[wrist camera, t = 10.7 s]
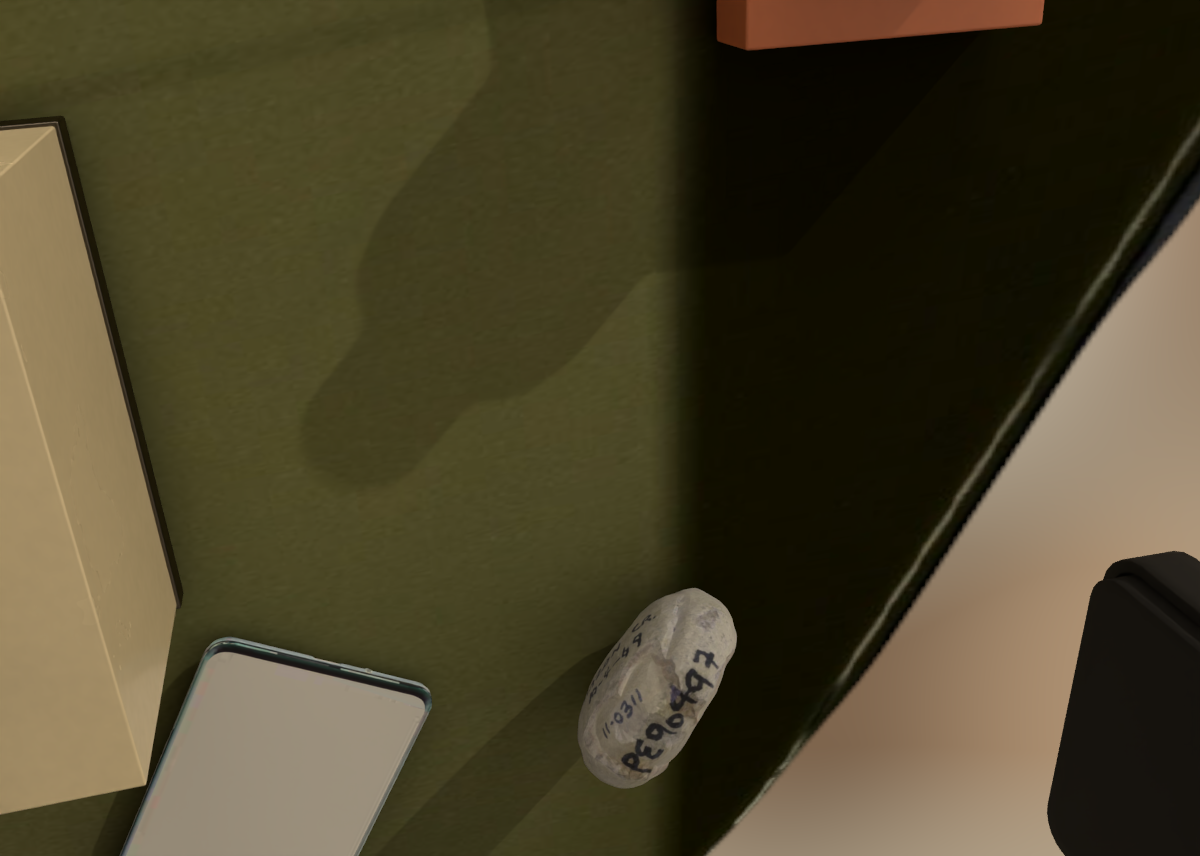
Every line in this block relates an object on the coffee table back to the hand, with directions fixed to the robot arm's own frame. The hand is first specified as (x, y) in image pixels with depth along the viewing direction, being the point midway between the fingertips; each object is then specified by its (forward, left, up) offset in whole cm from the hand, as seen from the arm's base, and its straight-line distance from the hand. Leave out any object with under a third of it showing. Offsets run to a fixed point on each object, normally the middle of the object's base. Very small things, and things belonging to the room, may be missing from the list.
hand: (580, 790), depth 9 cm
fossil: (+15, +6, -22) cm, 27 cm away
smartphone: (+20, -7, -22) cm, 31 cm away
